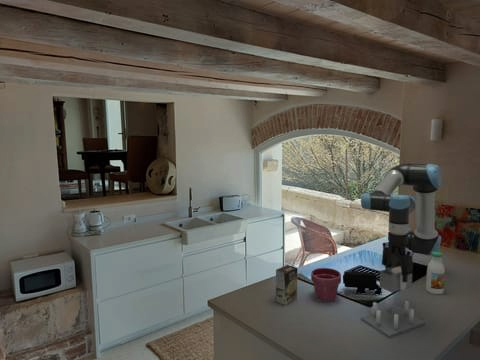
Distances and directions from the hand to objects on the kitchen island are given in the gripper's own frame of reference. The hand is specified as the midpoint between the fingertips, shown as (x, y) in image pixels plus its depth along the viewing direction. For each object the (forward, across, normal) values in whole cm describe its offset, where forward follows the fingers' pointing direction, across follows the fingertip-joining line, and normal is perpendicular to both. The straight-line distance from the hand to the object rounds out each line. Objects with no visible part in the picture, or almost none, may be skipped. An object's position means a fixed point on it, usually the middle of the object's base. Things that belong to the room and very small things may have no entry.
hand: (395, 285), depth 146 cm
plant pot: (+16, -30, -13) cm, 36 cm away
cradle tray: (+16, 0, -2) cm, 16 cm away
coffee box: (+16, -37, -31) cm, 50 cm away
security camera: (+16, -25, +7) cm, 31 cm away
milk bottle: (+15, -9, +39) cm, 43 cm away
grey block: (0, 0, 0) cm, 1 cm away
